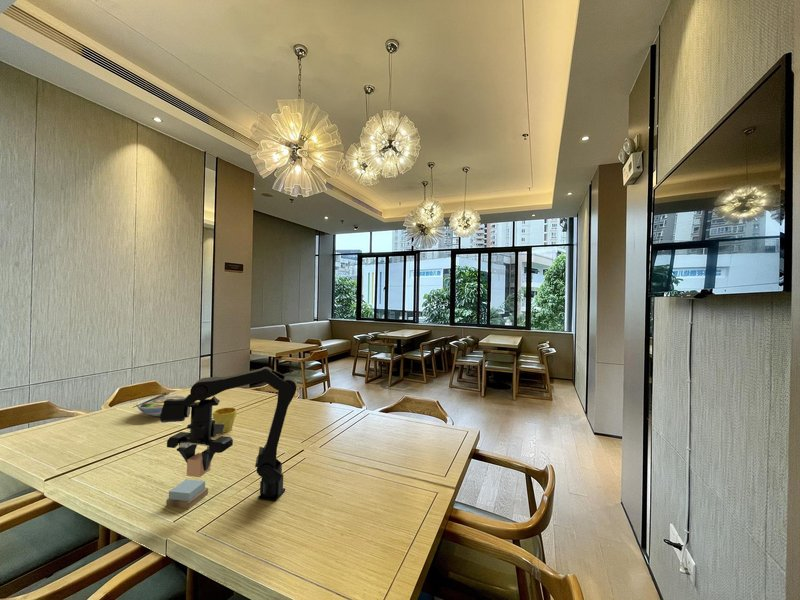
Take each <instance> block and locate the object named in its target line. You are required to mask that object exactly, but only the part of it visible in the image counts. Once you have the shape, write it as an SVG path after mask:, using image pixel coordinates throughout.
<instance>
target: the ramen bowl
mask: <svg viewBox="0 0 800 600" xmlns="http://www.w3.org/2000/svg"><path fill="white" fill-rule="evenodd" d="M186 397H187V396H185V395H175V394H174V395H170V392H167V393H166V392H164V393H162V394H160V395H157V396H155V397H150V398H146V399H143V400H140V401H139V402H137V403H136V405H134V406H133V407H132V408H136V407H137V409H138V410H139V411H140V412H141V413H143V414H146V415H148V416H153V417H160V414H161V412H162V408H163V405H164V401H165V400H166V399H185V398H186ZM132 408H131V409H132Z"/></svg>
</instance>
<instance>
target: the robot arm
mask: <svg viewBox="0 0 800 600" xmlns="http://www.w3.org/2000/svg"><path fill="white" fill-rule="evenodd" d="M259 382H264V383H266V384H268V385H269V386H270V387H271V388H273V389H275V390H276V391H277V403H276V406H275V410H274V414H273V417H272V421H271V425H270V428H269V433H268V436H267V439H266V443H265V444H264V446H263V447H262V446H259V449H258V455H257V456H256V458H255V465H254V467H255V468H256V473H257V475H258V476H259V477H261V480H260V481H259V485H260V486H259V495H258V496H257V499H258V500H266V501H272V502H276V501H277V500H278V499H279V498H280V497H281V496H282V495H283V494H284V493H285V492H286V488H285V487H284V474H283V462H281V461H280V460H279V459H278V458H277V452H278V446H279V441H280V438H281V434H282V430H283V427H284V423H285V419H286V415H287V412H288V407H290V404H291V402H292V400H293V399H294V396H295V394H296V392H297V388H298V387H297V382H296V380H295V378H294V377H292V376H290V375H284V374H282V373H280V372H279V371H276V370H275V369H274V370H273V369H272V368H270V367H269V366H264V367H262V368H258V369H254V370H250V371H244V372H241V373H236V374H232V375H228V376H210V377H209V376H208V377H202V378H200V379H198V380H197V381H196V382H195V383H194V384H193V385H192V386H191V388H190V394H188V395H187V396H185V397H186V398H185V399H166V400H165V401H164V405H163V408H162V412H161V414H160V416H159V420H160V423H161V424H163V423H164V424H165V423H177V422H184V421H186V418H189V417H190V423H189V424H187V426H186V428H187V429H188V430H189V432H186V431H179V432H178V433H176V434H173V435H171V436H169V438H168V439H167V440H166V448H168V449H169V448H170V449H175V448H176V447H177V448H176V451H177V452H179V454H180V455H181V457H182V458H183V459H184V461H185V463H186V464H187V459H189V458H191V457H192V456H194V455H196V449H197V447H198V446H205V447H206V449H205V450H203V451H202V452H201V453H202V460H203V468H204V471H206V470H207V469H208V467H209V465H210V463H212V461H213V458H214V456H215V455H216V453H217V454H221V453H224V452H225V451H227V450H228V449H230V448H231V447H232V446H233V445H234V443H233V442H234V439H233V438H232V437H231V436H224V435H223V433H222V432H223V429H224V425H225V424H217V423H215V420H213V406H215V407H216V406H218V405H219V404H220V402H221V400H220V399H218V398H217V397H216V395H218V394H220V393H222V392H224V391H227V390H231V389H235V388H240V387H244V386H248V385H252V384H256V383H259ZM217 434H218V435H221V436H218V437H217V438H216V439H212V438H215V437H216V436H217Z"/></svg>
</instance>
